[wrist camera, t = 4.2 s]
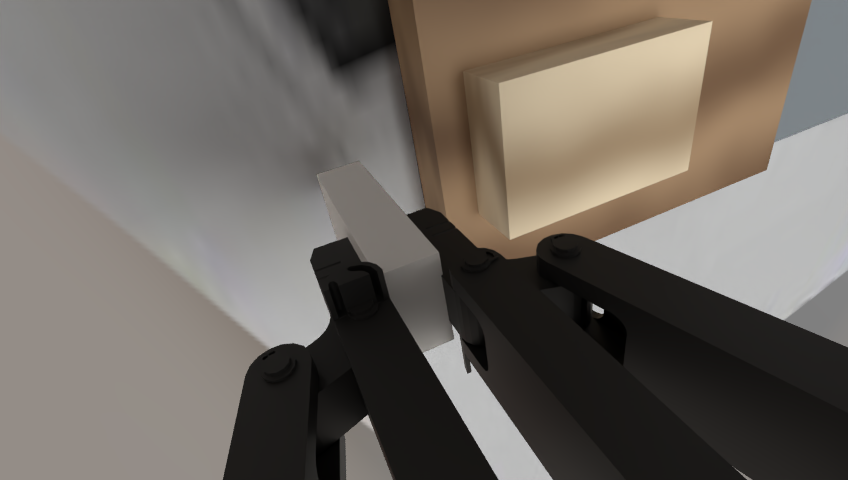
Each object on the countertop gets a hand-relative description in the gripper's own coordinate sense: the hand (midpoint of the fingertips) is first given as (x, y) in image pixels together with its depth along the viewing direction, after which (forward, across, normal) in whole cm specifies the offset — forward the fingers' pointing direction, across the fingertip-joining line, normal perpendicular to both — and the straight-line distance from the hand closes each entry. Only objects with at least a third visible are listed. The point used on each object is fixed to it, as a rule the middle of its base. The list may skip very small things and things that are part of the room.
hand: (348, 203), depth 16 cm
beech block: (+1, +10, 0) cm, 10 cm away
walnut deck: (+4, +14, 0) cm, 14 cm away
